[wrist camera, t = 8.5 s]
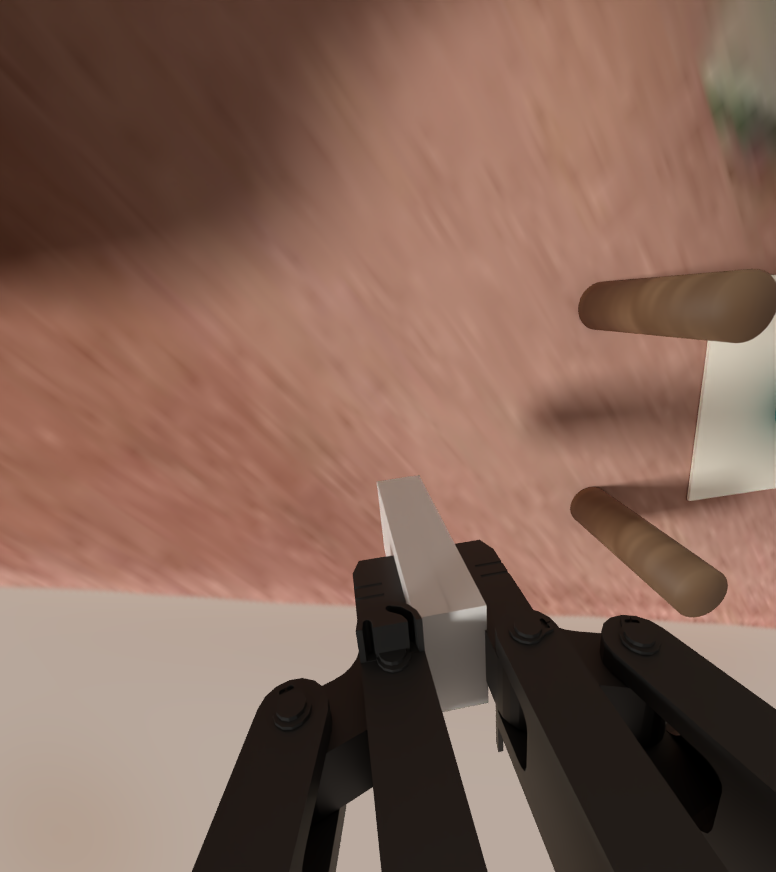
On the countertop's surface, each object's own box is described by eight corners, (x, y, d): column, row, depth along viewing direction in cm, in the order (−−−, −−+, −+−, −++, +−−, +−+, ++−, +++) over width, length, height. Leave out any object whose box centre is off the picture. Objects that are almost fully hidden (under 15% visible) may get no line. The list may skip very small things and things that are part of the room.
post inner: (579, 284, 24) (718, 272, 15) (623, 279, 24) (785, 265, 15) (577, 331, 24) (707, 346, 16) (619, 327, 25) (771, 339, 16)
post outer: (571, 489, 27) (677, 574, 19) (609, 484, 28) (731, 564, 19) (569, 525, 28) (671, 621, 20) (606, 519, 28) (723, 612, 20)
